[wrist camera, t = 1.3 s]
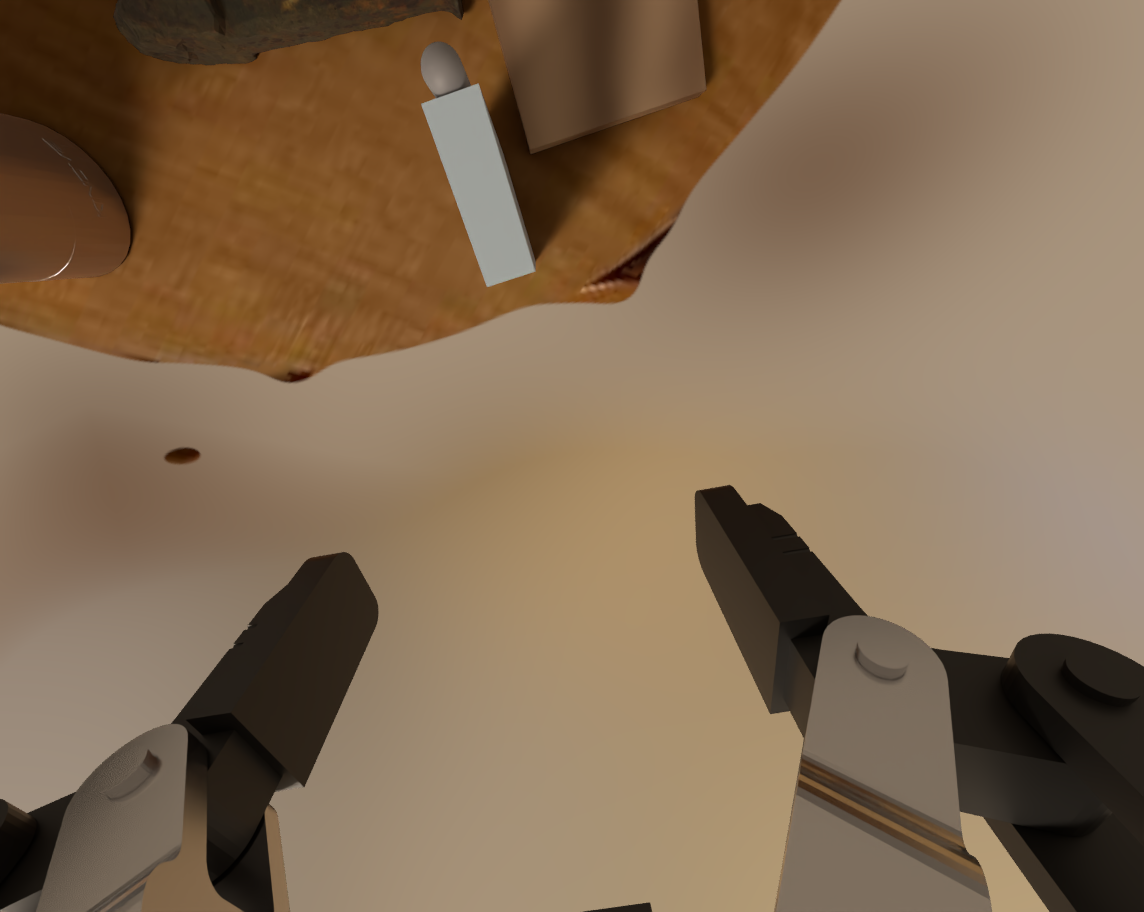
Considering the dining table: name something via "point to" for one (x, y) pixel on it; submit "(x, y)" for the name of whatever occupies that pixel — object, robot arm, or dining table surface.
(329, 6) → the hand tool
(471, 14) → the dining table surface
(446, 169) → the cabinet door
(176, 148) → the dining table surface
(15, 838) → the robot arm
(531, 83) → the hinge frame
